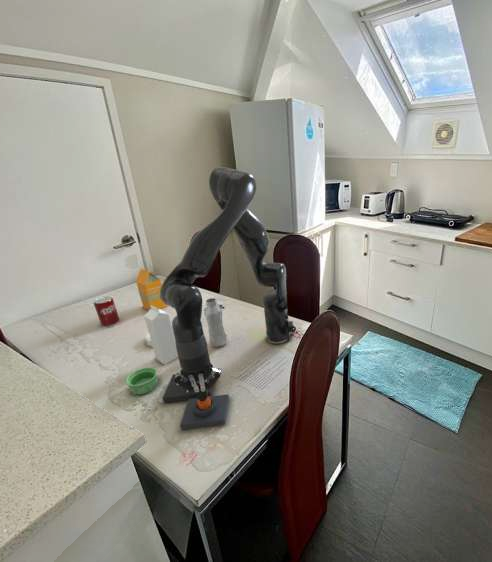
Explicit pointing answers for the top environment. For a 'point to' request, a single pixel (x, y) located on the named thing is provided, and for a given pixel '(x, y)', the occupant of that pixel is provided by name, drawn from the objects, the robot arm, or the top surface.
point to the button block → (205, 413)
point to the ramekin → (142, 380)
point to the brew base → (181, 392)
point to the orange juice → (149, 290)
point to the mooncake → (148, 339)
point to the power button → (204, 404)
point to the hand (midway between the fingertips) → (203, 398)
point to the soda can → (106, 311)
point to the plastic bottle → (215, 323)
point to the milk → (161, 335)
